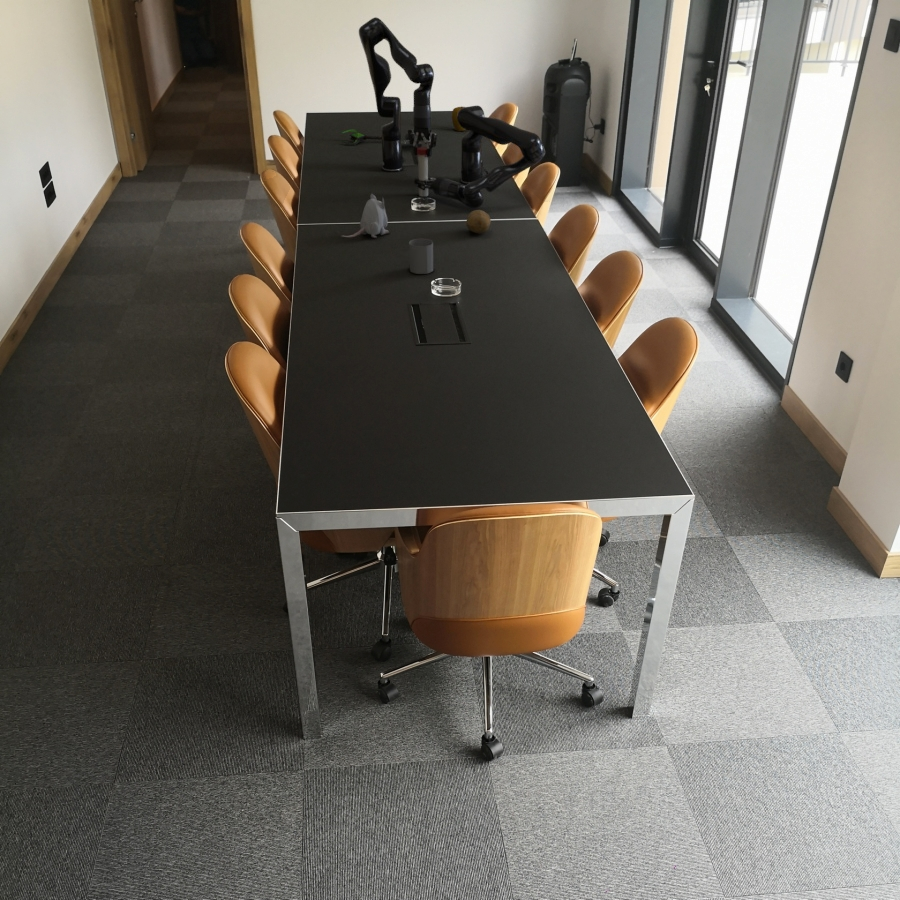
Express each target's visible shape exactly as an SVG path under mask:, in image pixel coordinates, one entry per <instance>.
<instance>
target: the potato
mask: <svg viewBox="0 0 900 900" xmlns="http://www.w3.org/2000/svg"><path fill="white" fill-rule="evenodd" d="M465 223H466V227H467V228H468V229H469V231H471V232H472V233H475V234H484V233H485V232H486V231H488V230H489V228H490V225H491V223H492V221H491V217H490V215H489V214H488V213H487V212H485V211H484V210H482V209H474V210H473V211H471V212H470V213H469V214H468V216H467V219H466V222H465Z"/></svg>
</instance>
